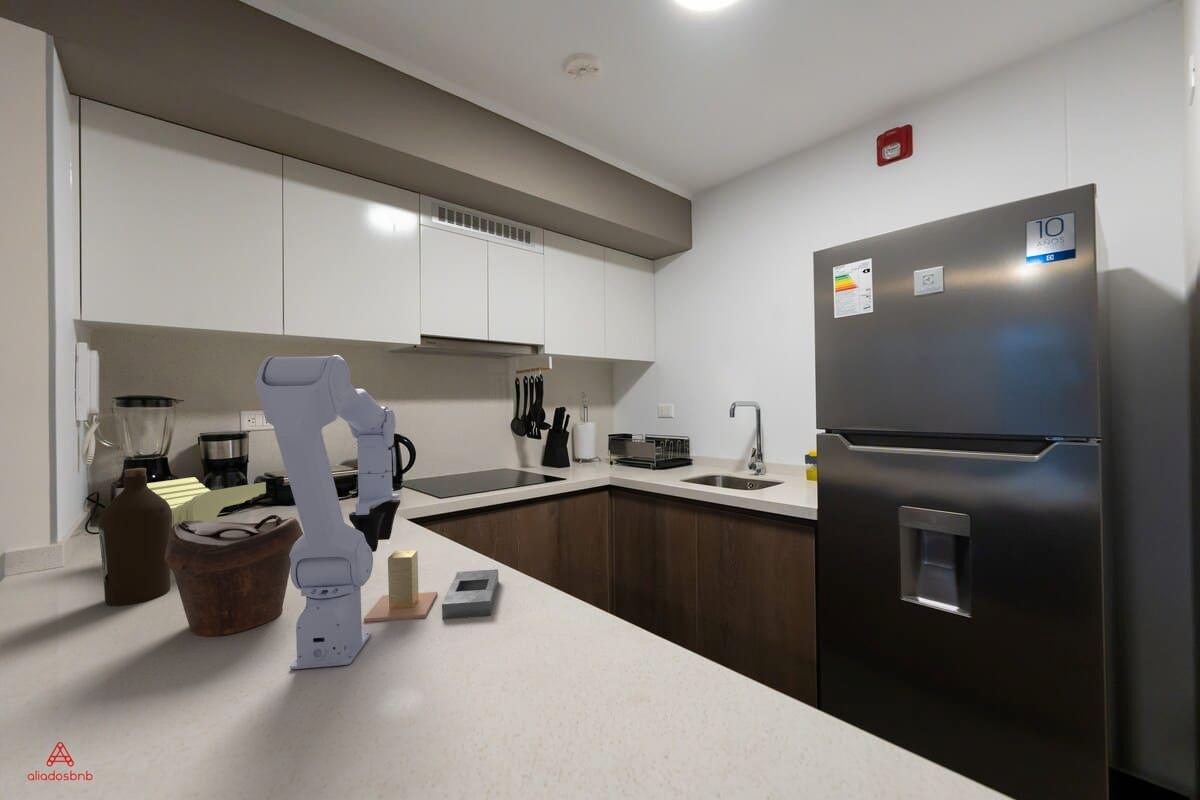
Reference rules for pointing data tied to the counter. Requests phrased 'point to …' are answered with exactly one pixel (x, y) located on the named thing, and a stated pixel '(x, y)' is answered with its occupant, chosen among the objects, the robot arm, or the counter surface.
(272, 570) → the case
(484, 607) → the grey slotted block
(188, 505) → the slatted curved stool
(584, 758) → the counter surface
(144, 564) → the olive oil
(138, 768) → the counter surface
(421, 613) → the terracotta tile
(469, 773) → the counter surface
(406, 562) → the brass bar
